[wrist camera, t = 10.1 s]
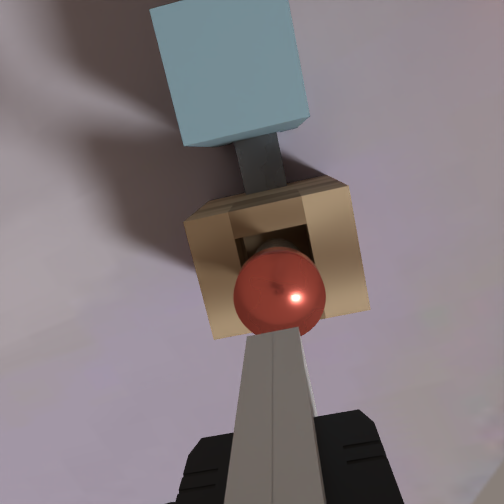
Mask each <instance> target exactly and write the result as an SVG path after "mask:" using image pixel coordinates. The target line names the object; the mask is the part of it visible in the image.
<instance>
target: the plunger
mask: <svg viewBox="0 0 504 504" xmlns="http://www.w3.org/2000/svg"><path fill="white" fill-rule="evenodd" d="M233 301H234V307H235V310H236V313H237V315H238V317H239V319H240V320H241V322H242V323H243V324H244V326H245V327H246V328H247V329H249V330H250V331H251V332H253V333H254V334H256V335H258V334H263V333H268V332H273V331H279V330H284V329H289V328H294V327H299V332H300V336H302V335H304V334H305V333H307V332H308V331H310V330H311V329H312V328H313V327H314V326H315V325H316V324H317V322H318V321H319V319H320V318H321V316H322V314H323V311H324V308H325V303H326V291H325V286H324V283H323V280H322V278H321V275H320V273H319V270H318V269H317V267H316V265H315V264H314V263H313V262H312V261H311V260H310V259H309V258H308V257H307V256H306V255H304V254H303V253H301V252H300V250H299V249H298V247H297V246H296V245H295V244H294V243H292V242H291V241H289V240H286V239H283V238H273V239H270V240H267V241H265V242H264V243H262V244H261V245H260V246H259V247H258V249H257V250H256V252H255V254H254V255H253V256H251V257H250V258H249V259H248V260H247V261H246V262H245V263H244V265H243V266H242V268H241V269H240V271H239V274H238V276H237V280H236V283H235V287H234V294H233Z"/></svg>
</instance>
